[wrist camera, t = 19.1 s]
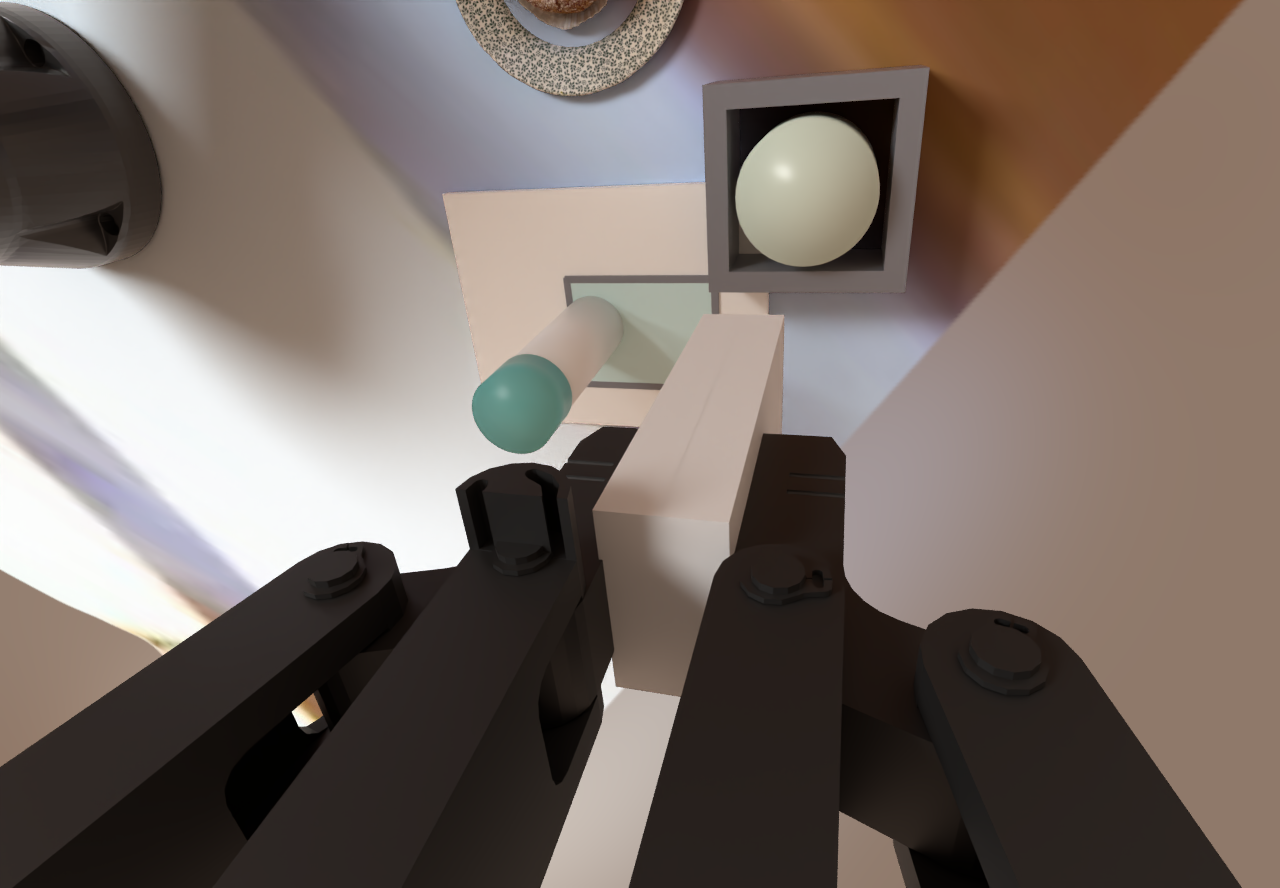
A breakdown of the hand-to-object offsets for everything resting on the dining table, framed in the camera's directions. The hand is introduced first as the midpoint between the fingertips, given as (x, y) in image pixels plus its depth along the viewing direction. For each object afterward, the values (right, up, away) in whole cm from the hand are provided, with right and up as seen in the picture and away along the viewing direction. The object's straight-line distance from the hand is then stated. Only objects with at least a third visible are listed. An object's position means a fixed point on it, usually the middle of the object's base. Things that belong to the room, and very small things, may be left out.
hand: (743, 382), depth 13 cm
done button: (+6, +11, +20) cm, 23 cm away
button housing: (+6, +12, +20) cm, 24 cm away
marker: (-5, +6, +27) cm, 28 cm away
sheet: (-4, +6, +27) cm, 28 cm away
